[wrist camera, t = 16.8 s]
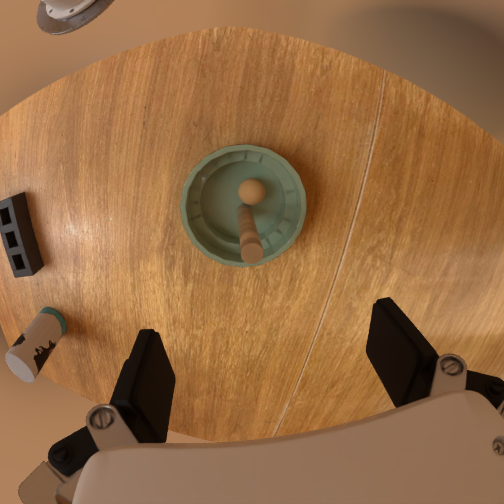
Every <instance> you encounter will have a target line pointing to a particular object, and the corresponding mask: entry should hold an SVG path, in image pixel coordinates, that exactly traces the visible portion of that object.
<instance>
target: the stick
mask: <svg viewBox="0 0 504 504" xmlns="http://www.w3.org/2000/svg"><path fill="white" fill-rule="evenodd" d="M237 218H238V229H239V240H240V251H241V257H242V259H243V260H244V261H245V262H246V263H248V264H256V263H258V262H259V261H261V259H262V258H263V255H264V251H263V247H262V244H261V241H260V237H259V234H258V230H257V227H256V224H255V220H254V217H253V214H252V210H251V207H250V206H249V205H248V204H245V203H243V204H240V205H239V206H238V208H237Z"/></svg>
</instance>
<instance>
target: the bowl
mask: <svg viewBox="0 0 504 504" xmlns="http://www.w3.org/2000/svg"><path fill="white" fill-rule="evenodd" d="M248 178H255V179H258V180H260V181H261V182H262V183H263V185H264V187H265V196H264V198H263V200H262V201H261V202H260V203H258V204H256V205H249V206H250V207H251V210H252V214H253V217H254V220H255V224H256V227H257V230H258V234H259V237H260V241H261V244H262V247H263V251H264V255H263V258H262V259H261V261H259V262H258V263H256V264H248V263H246V262H245V261H244V260H243V259H242V257H241V251H240V240H239V229H238V218H237V208H238V206H239V205H240V204H243V203H244V202H242V200H241V199H240V198H239V195H238V188H239V186H240V184H241V183H242V182H243V181H244V180H246V179H248ZM180 211H181V216H182V222H183V227H184V228H185V230H186V232H187V234H188V236H189V238H190V240H191V241H192V243H193V244H194V245H195V246H196V247H197V248H198V249H199V250H200V251H201V252H202V253H203V254H204V255H205V256H207V257H209V258H211V259H213V260H215V261H217V262H219V263H221V264H224V265H230V266H236V267H249V266H257V265H261V264H264V263H266V262H268V261H271V260H273V259H275V258H277V257H278V256H280V255H281V254H282V253H283V252H284V251H286V250H287V249H288V248H289V247H290V246H291V245H292V244H293V243H294V241H295V240H296V238H297V236H298V235H299V233H300V232H301V230H302V227H303V223H304V220H305V216H306V211H307V206H306V193H305V189H304V186H303V184H302V181H301V179H300V176H299V174H298V173H297V172H296V170H295V169H294V168H293V167H292V166H291V165H290V163H289V162H288V161H287V160H286V159H285V158H283V157H282V156H280V155H278V154H277V153H275V152H273V151H272V150H270V149H268V148H264V147H259V146H255V145H250V144H240V145H231V146H226V147H224V148H222V149H219V150H217V151H215V152H213V153H211V154H209V155H207V156H206V157H205V158H204V159H203V160H202V161H201V162H200V163H199V164H198V165H197V166H196V167H195V168H194V169H193V170H192V171H191V173H190V175H189V177H188V179H187V181H186V183H185V185H184V186H183V190H182V197H181V203H180Z"/></svg>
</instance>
